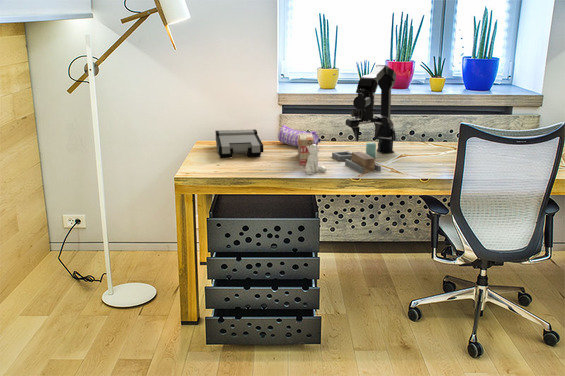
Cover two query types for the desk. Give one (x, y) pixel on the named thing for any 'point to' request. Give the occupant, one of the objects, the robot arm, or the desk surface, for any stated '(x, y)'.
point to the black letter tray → (238, 143)
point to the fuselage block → (364, 161)
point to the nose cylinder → (371, 149)
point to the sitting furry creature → (314, 161)
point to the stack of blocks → (304, 147)
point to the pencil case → (294, 136)
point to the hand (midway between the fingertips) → (366, 140)
